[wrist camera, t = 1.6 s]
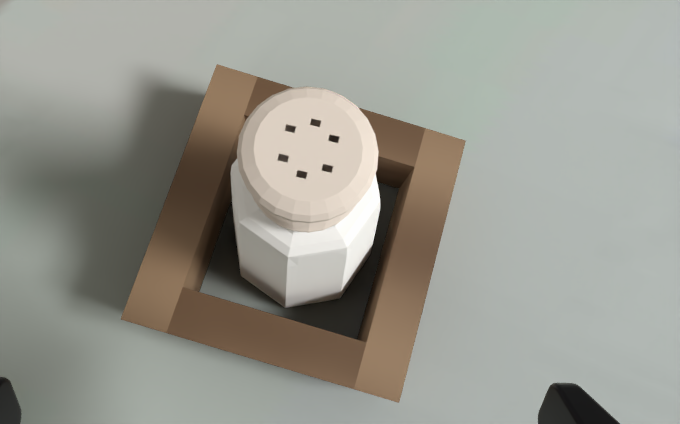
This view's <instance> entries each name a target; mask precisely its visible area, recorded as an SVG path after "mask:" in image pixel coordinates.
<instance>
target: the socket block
mask: <svg viewBox="0 0 680 424" xmlns="http://www.w3.org/2000/svg"><path fill="white" fill-rule="evenodd" d="M291 88H292V87H289V86H286V85H283V84H279V83H276V82H273V81H270V80H266V79H263V78H260V77H256V76H253V75H250V74H247V73H243V72H240V71H237V70H234V69H230V68H227V67H224V66H221V65H216V68H215V71H214V73H213V76H212V79H211V81H210V84H209V87H208V89H207V92H206V95H205V97H204V100H203V102H202V105H201V108H200V110H199V113H198V116H197V118H196V121H195V124H194V126H193V129H192V132H191V134H190V137H189V140H188V142H187V145H186V147H185V150H184V153H183V155H182V158H181V161H180V163H179V166H178V169H177V171H176V174H175V177H174V179H173V182H172V185H171V187H170V190H169V192H168V195H167V198H166V200H165V203H164V206H163V208H162V211H161V214H160V216H159V219H158V222H157V224H156V227H155V230H154V232H153V235H152V237H151V240H150V243H149V245H148V248H147V251H146V253H145V256H144V259H143V261H142V264H141V267H140V269H139V272H138V275H137V277H136V280H135V282H134V285H133V288H132V290H131V293H130V296H129V298H128V301H127V304H126V306H125V309H124V312H123V314H122V317H121V320H125V321H128V322H131V323H135V324H138V325H142V326H145V327H148V328H152V329H155V330H158V331H162V332H165V333H168V334H172V335H175V336H178V337H182V338H185V339H188V340H192V341H195V342H198V343H202V344H205V345H208V346H212V347H215V348H218V349H222V350H225V351H228V352H232V353H235V354H238V355H242V356H245V357H248V358H252V359H255V360H258V361H262V362H265V363H268V364H272V365H275V366H278V367H282V368H285V369H288V370H292V371H295V372H298V373H302V374H305V375H308V376H312V377H315V378H318V379H322V380H325V381H328V382H332V383H335V384H338V385H342V386H345V387H348V388H352V389H355V390H359V391H362V392H365V393H369V394H372V395H375V396H379V397H382V398H385V399H389V400H392V401H395V402H399V401H400V397H401V393H402V389H403V385H404V381H405V377H406V373H407V369H408V365H409V361H410V358H411V354H412V350H413V346H414V342H415V338H416V334H417V330H418V326H419V322H420V318H421V314H422V310H423V306H424V303H425V299H426V295H427V291H428V287H429V283H430V279H431V275H432V271H433V267H434V263H435V259H436V255H437V251H438V247H439V244H440V240H441V236H442V232H443V228H444V224H445V220H446V216H447V212H448V208H449V204H450V200H451V196H452V192H453V189H454V185H455V181H456V177H457V173H458V169H459V165H460V161H461V157H462V153H463V149H464V145H465V140H462V139H458V138H455V137H452V136H449V135H445V134H442V133H439V132H436V131H432V130H429V129H426V128H423V127H419V126H416V125H413V124H410V123H406V122H403V121H400V120H396V119H393V118H390V117H387V116H383V115H380V114H377V113H374V112H370V111H367V110H364V109H361V108H359V109H360V111H361V112H362V113H363V114H364V115H365V116H366V117H367V119H368V121H369V123H370V125H371V127H372V129H373V131H374V133H375V136H376V141H377V146H378V151H379V152H378V165H377V171H376V178H377V182H379V183H382V184H386V185H389V186H392V187H396V188H399V191H398V194H397V198H396V201H395V205H394V208H393V212H392V216H391V219H390V223H389V226H388V230H387V234H386V237H385V241H384V244H383V248H382V252H381V255H380V259H379V262H378V266H377V270H376V273H375V277H374V280H373V284H372V288H371V291H370V295H369V298H368V302H367V306H366V309H365V313H364V316H363V320H362V324H361V327H360V331H359V334H358V338H357V339H353V338H350V337H347V336H343V335H340V334H337V333H333V332H330V331H327V330H323V329H320V328H317V327H313V326H310V325H307V324H303V323H300V322H297V321H293V320H290V319H287V318H283V317H280V316H277V315H273V314H270V313H267V312H264V311H260V310H257V309H254V308H250V307H247V306H244V305H240V304H237V303H234V302H230V301H227V300H224V299H220V298H217V297H214V296H210V295H207V294H204V293H200V292H199V291H200V288H201V285H202V282H203V279H204V276H205V274H206V271H207V268H208V265H209V262H210V259H211V256H212V254H213V251H214V248H215V245H216V242H217V239H218V236H219V234H220V231H221V228H222V225H223V222H224V219H225V216H226V214H227V211H228V208H229V205H230V202H231V199H232V190H231V174H230V173H231V166H232V164H233V163H234V162H235V160H236V159H237V148H238V140H239V135H240V133H241V130H242V128H243V126H244V123H245V121H246V119H247V118H248V117H249V116H250V114H251V113H252V112H253V111H254V109H255V108H256V107H257V106H258V105H259V104H261V103H262V102H263V101H265V100H266V99H267V98H269V97H270V96H272V95H274V94H276V93H279V92H282V91H284V90H287V89H291Z"/></svg>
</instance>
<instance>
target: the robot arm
mask: <svg viewBox="0 0 680 424" xmlns="http://www.w3.org/2000/svg"><path fill="white" fill-rule="evenodd" d="M20 422H21V408H20V405H19V403H18V400H17V398H16V395H15V392H14V390H13V387H12V385H11V382H10V381H9V380H8V379H7V378H5V377H0V424H20ZM538 424H620V423H619V422H618V421H617V420H615V419H614V418H613V417H612V416H611V415H610V414H609V413H608V412H607V411H606V410H605V409H604V408H602V407H601V406H600V405H599V404H598V403H597V402H596V401H595V400H594V399H593V398H592V397H591V396H589V395H588V394H587V393H586V392H585V391H584V390H583V389H582V388H581V387H580V386H578V385H576V384H574V383H553V384H552V385H551V386H550V387H549V389H548V391H547V393H546V396H545V398H544V401H543V403H542V406H541V408H540V410H539V414H538Z"/></svg>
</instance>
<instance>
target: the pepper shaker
mask: <svg viewBox="0 0 680 424" xmlns="http://www.w3.org/2000/svg"><path fill="white" fill-rule="evenodd" d="M378 152H379V151H378V146H377V141H376V136H375V133H374V131H373V129H372V127H371V125H370V123H369V121H368V119H367V117H366V116H365V115H364V114H363V113H362V112H361V111H360V109H359V108H358V107H357V106H356V105H355V104H353V103H352V102H351V101H349V100H348V99H346V98H345V97H343V96H342V95H340V94H337V93H335V92H332V91H329V90H327V89H323V88H315V87H299V88H291V89H287V90H284V91H282V92H279V93H276V94H274V95H272V96H270V97H269V98H267V99H266V100H265V101H263V102H262V103H261V104H259V105H258V106H257V107H256V108H255V109H254V111H253V112H252V113H251V114H250V116H249V117H248V118H247V119H246V121H245V123H244V126H243V128H242V130H241V133H240V135H239V140H238V148H237V159H236V160H235V162H234V163H233V164H232V166H231V173H230V174H231V190H232V206H233V222H234V229H235V237H236V244H237V251H238V258H239V266H240V273H241V276H242V277H243V278H245V279H246V280H247V281H249V282H250V283H252V284H253V285H254V286H256V287H257V288H258V289H260V290H261V291H263V292H264V293H265V294H267V295H268V296H270V297H271V298H272V299H274V300H275V301H276V302H278V303H279V304H281V305H282V306H283V307H285V308H289V307H294V306H300V305H306V304H312V303H318V302H323V301H329V300H335V299H340V298H341V296H342V295H343V293H344V292H345V291H346V289H347V288H348V286H349V285H350V283H351V282H352V280H353V279H354V278H355V276H356V275H357V273H358V272H359V270H360V269H361V268H362V266H363V265H364V263H365V262H366V260H367V259H368V258H369V256H370V255H371V250H372V246H373V241H374V236H375V231H376V227H377V222H378V217H379V212H380V195H379V189H378V184H377V178H376V171H377V165H378Z"/></svg>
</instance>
